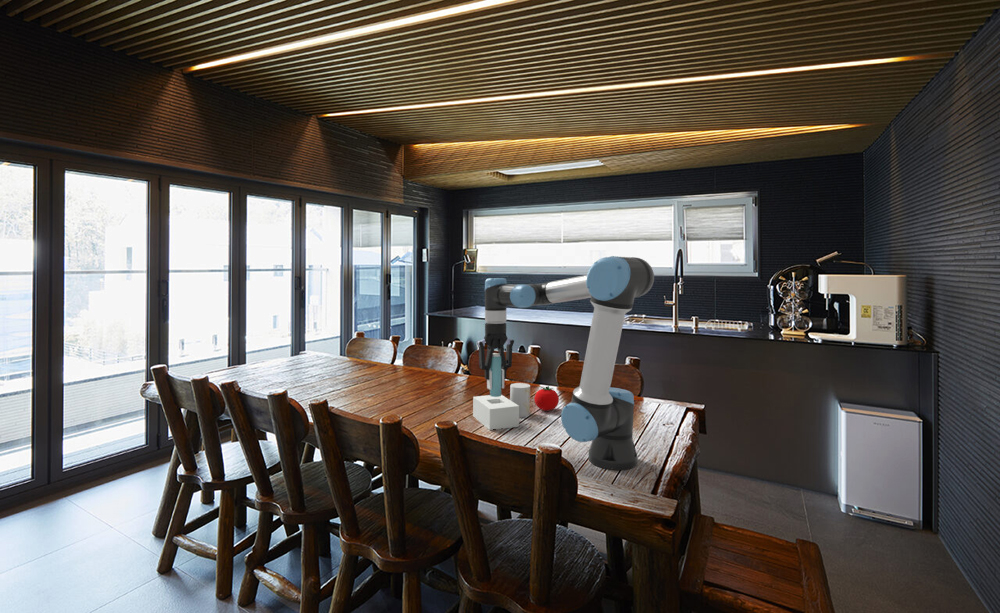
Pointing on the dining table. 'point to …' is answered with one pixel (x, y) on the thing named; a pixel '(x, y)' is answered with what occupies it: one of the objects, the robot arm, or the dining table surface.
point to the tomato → (546, 399)
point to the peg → (496, 375)
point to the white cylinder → (521, 397)
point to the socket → (496, 412)
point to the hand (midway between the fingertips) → (495, 387)
